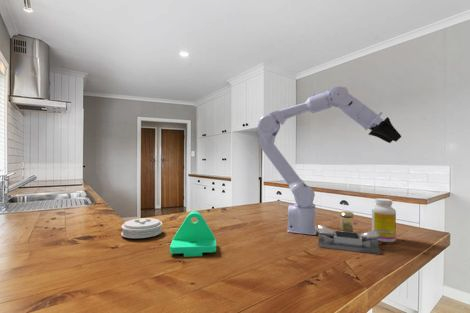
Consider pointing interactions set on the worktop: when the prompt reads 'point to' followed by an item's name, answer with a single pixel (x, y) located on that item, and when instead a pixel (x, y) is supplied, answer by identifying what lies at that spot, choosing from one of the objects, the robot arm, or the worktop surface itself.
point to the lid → (141, 228)
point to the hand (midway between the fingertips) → (395, 140)
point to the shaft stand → (349, 240)
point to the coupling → (346, 221)
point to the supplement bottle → (384, 220)
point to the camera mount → (193, 237)
